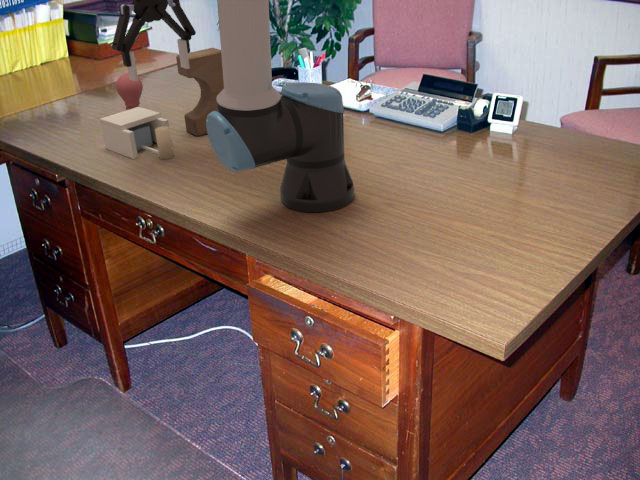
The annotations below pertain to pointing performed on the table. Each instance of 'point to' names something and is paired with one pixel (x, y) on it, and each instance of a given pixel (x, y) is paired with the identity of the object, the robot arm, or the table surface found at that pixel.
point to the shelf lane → (124, 139)
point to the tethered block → (145, 140)
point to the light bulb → (129, 91)
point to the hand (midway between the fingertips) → (160, 73)
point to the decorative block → (203, 86)
